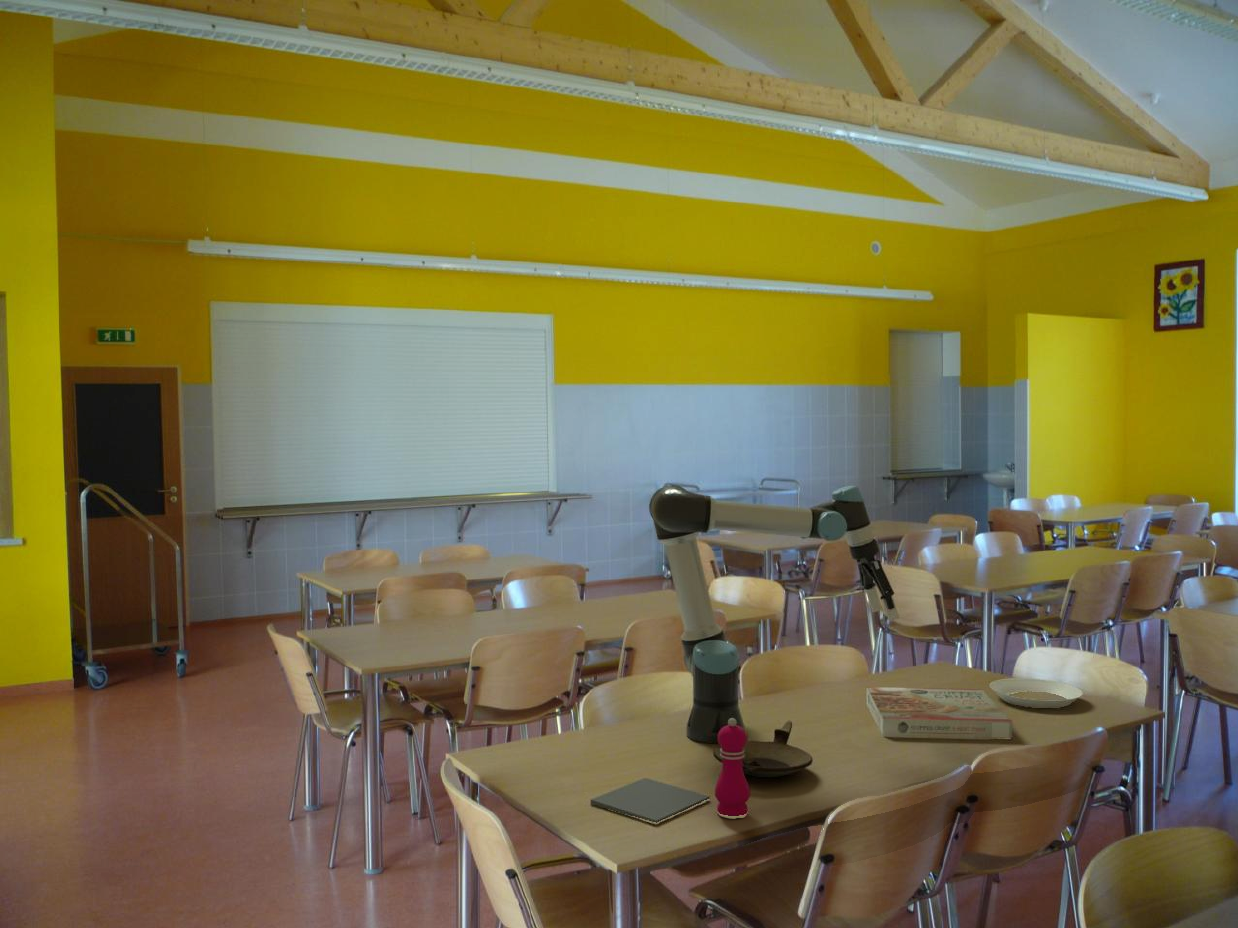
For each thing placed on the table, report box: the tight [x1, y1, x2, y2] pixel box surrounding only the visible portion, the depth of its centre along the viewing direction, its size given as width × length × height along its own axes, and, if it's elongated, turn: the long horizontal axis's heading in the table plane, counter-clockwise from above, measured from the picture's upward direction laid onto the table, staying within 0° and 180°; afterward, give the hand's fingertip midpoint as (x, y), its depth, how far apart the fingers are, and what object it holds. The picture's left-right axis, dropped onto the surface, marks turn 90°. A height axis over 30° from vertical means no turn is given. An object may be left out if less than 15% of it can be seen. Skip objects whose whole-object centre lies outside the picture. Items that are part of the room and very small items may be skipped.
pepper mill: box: [714, 718, 751, 816], centre depth 218 cm, size 7×7×20 cm
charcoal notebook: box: [590, 777, 711, 823], centre depth 225 cm, size 18×18×1 cm
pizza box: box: [866, 686, 1013, 740], centre depth 285 cm, size 32×5×32 cm
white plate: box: [989, 677, 1084, 709], centre depth 305 cm, size 25×25×4 cm
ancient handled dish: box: [712, 719, 814, 778], centre depth 246 cm, size 22×30×8 cm
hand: (885, 615), depth 289 cm, fingers open, 13 cm apart
